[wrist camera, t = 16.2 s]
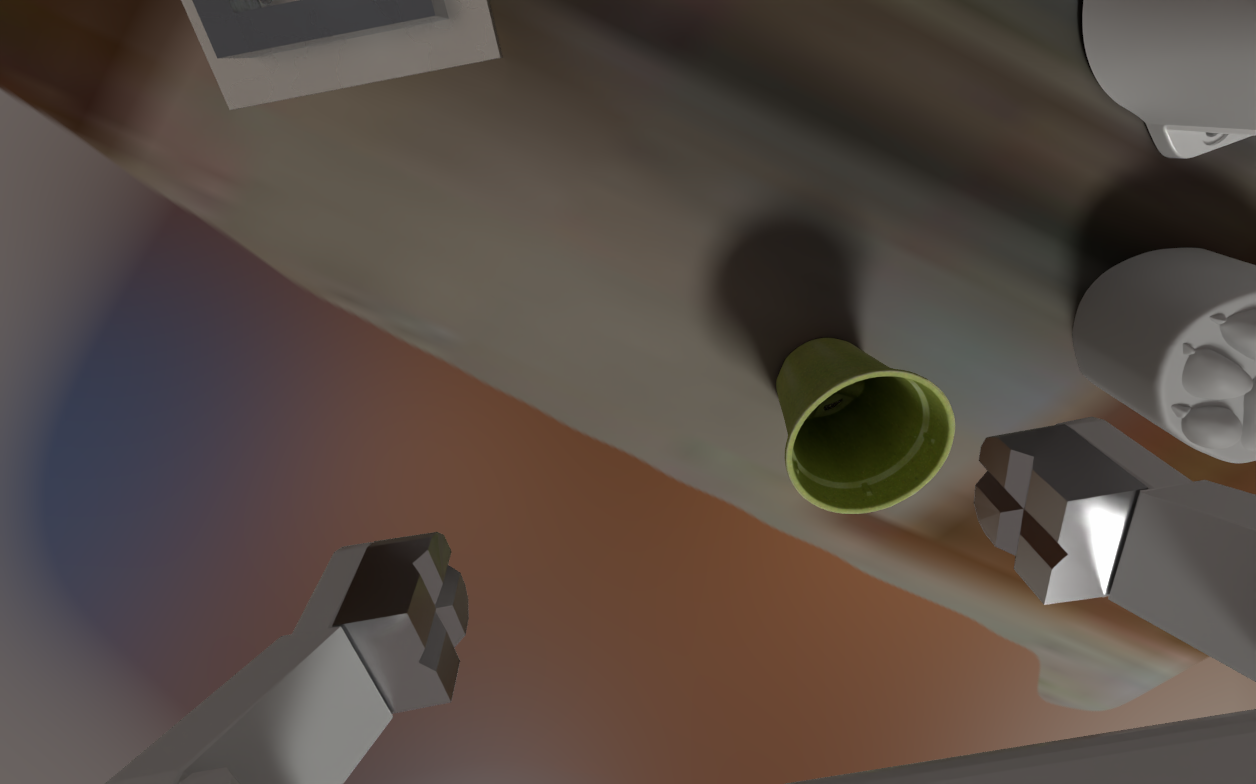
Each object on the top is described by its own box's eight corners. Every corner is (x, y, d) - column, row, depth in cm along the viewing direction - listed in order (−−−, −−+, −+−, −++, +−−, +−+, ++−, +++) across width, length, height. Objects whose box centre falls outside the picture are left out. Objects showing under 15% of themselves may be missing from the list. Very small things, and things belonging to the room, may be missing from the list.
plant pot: (726, 358, 41) (758, 428, 33) (858, 284, 39) (924, 340, 31) (784, 456, 45) (825, 538, 37) (907, 393, 43) (976, 466, 35)
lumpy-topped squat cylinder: (1155, 421, 45) (1269, 495, 38) (1032, 348, 42) (1131, 412, 34) (1282, 303, 41) (1439, 359, 34) (1158, 209, 38) (1302, 248, 30)
